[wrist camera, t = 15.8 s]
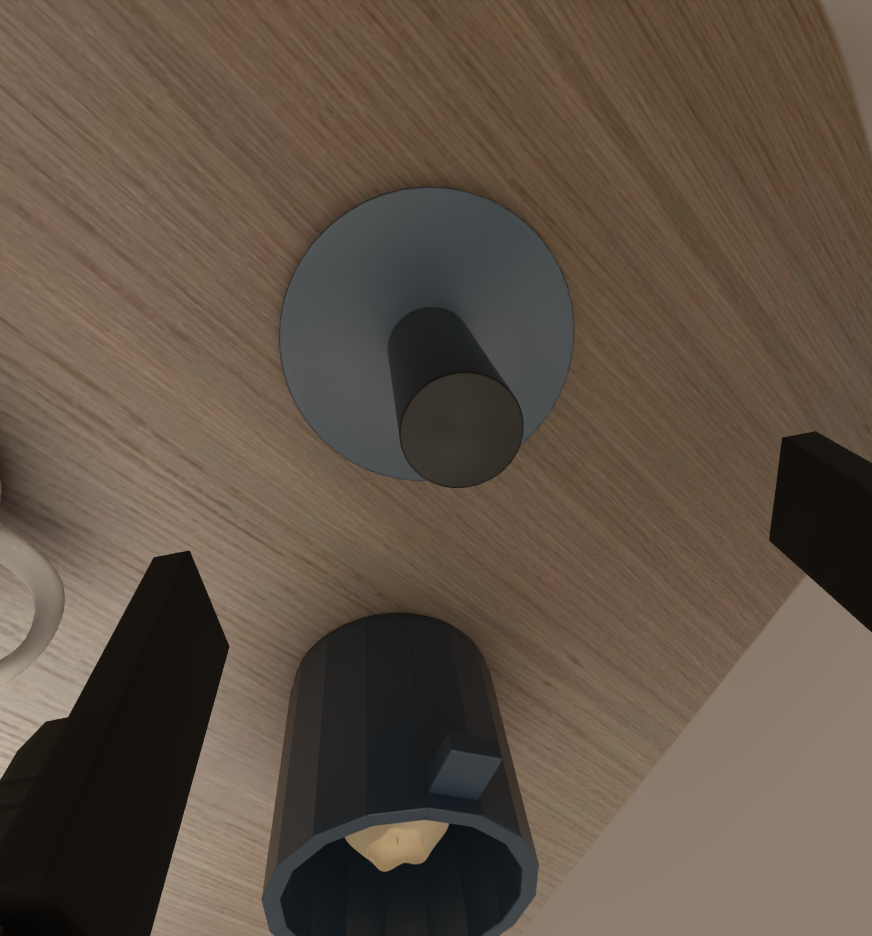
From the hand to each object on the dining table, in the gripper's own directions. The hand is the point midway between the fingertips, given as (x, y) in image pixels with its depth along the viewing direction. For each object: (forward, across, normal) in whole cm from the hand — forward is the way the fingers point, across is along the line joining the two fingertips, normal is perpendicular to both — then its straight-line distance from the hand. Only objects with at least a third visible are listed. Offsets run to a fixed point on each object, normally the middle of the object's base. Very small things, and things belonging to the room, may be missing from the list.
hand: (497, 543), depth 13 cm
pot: (+17, -6, -22) cm, 29 cm away
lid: (+17, 0, 0) cm, 17 cm away
